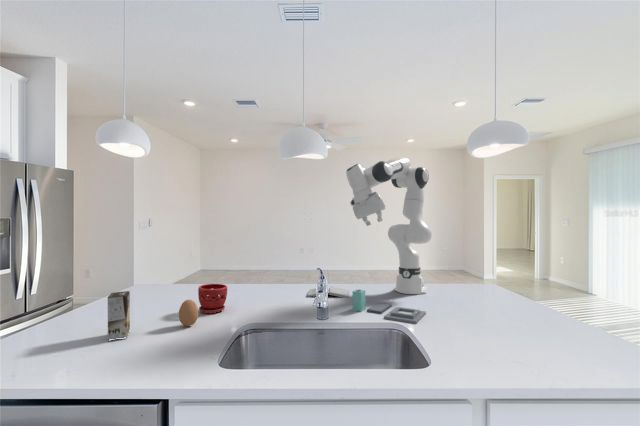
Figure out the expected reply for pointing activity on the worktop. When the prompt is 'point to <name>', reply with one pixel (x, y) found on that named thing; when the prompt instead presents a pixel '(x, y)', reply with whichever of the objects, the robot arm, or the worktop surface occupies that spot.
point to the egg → (188, 313)
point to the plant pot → (212, 297)
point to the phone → (379, 308)
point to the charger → (359, 300)
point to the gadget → (332, 292)
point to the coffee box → (118, 314)
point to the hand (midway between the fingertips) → (374, 223)
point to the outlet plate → (405, 315)
